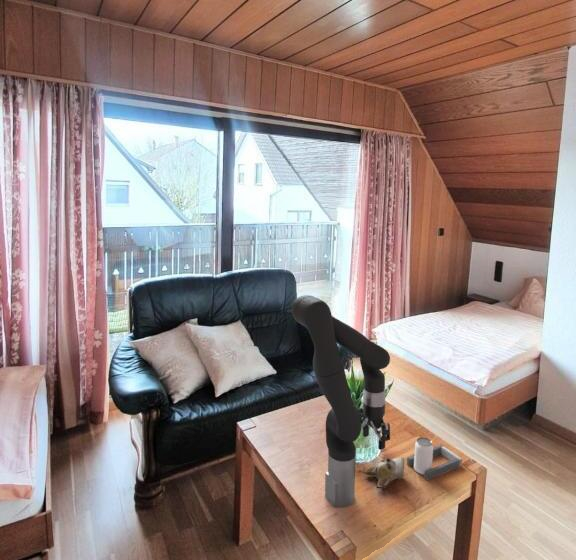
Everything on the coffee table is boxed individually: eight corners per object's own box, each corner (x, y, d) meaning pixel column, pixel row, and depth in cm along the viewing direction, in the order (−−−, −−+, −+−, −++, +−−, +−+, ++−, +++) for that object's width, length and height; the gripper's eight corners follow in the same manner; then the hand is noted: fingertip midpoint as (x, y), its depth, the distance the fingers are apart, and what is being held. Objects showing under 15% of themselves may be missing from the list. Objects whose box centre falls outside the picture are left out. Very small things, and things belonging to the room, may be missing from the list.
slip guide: (426, 480, 158) (427, 473, 157) (406, 464, 167) (407, 457, 166) (461, 465, 166) (462, 458, 165) (440, 451, 175) (441, 444, 174)
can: (411, 472, 162) (413, 443, 160) (415, 462, 168) (417, 434, 165) (429, 477, 160) (431, 448, 157) (432, 467, 165) (435, 439, 163)
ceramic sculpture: (412, 461, 155) (377, 474, 149) (412, 482, 157) (377, 496, 151) (394, 445, 164) (361, 457, 159) (395, 465, 166) (361, 477, 161)
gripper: (352, 394, 152) (352, 435, 156) (379, 413, 140) (378, 456, 144) (369, 389, 156) (369, 429, 160) (396, 406, 144) (395, 449, 147)
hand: (373, 442), depth 152 cm, fingers open, 8 cm apart
